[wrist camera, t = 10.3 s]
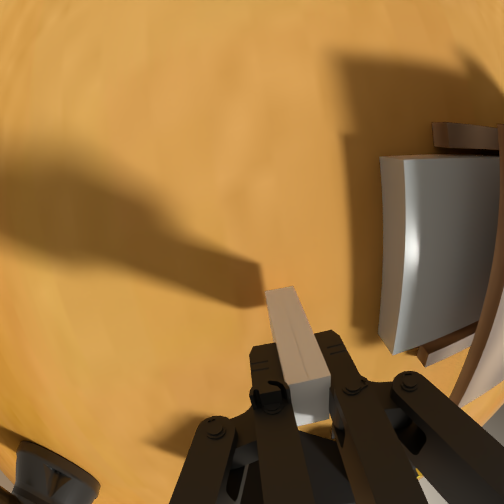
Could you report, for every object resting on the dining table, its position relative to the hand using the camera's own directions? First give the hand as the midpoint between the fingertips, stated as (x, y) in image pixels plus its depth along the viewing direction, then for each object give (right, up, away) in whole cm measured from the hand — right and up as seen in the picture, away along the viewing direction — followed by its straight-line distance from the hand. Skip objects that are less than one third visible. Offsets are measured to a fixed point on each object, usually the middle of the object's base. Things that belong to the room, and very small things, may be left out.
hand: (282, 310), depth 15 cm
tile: (+14, +4, +2) cm, 15 cm away
